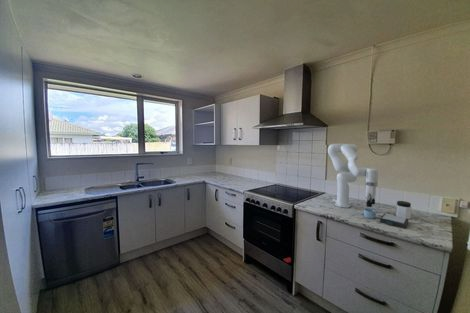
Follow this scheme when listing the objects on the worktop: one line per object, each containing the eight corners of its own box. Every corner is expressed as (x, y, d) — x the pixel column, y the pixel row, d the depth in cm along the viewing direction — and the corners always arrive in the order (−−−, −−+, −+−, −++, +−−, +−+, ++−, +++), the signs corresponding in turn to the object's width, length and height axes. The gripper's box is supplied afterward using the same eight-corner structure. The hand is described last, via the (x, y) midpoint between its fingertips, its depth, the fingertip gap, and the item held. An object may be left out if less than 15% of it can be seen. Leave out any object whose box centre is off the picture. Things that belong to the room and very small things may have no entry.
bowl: (362, 216, 149) (363, 210, 149) (365, 214, 154) (365, 207, 154) (373, 219, 144) (374, 212, 144) (376, 217, 149) (376, 210, 148)
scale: (379, 222, 138) (380, 218, 138) (384, 217, 149) (384, 212, 148) (405, 229, 128) (405, 224, 127) (407, 222, 138) (408, 218, 138)
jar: (402, 214, 153) (403, 200, 152) (413, 218, 145) (414, 203, 144) (392, 215, 152) (393, 200, 151) (402, 219, 144) (403, 204, 143)
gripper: (368, 181, 155) (368, 202, 156) (362, 185, 144) (362, 206, 145) (379, 183, 150) (379, 204, 151) (374, 186, 138) (373, 209, 139)
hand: (370, 205), depth 148 cm, fingers open, 9 cm apart
